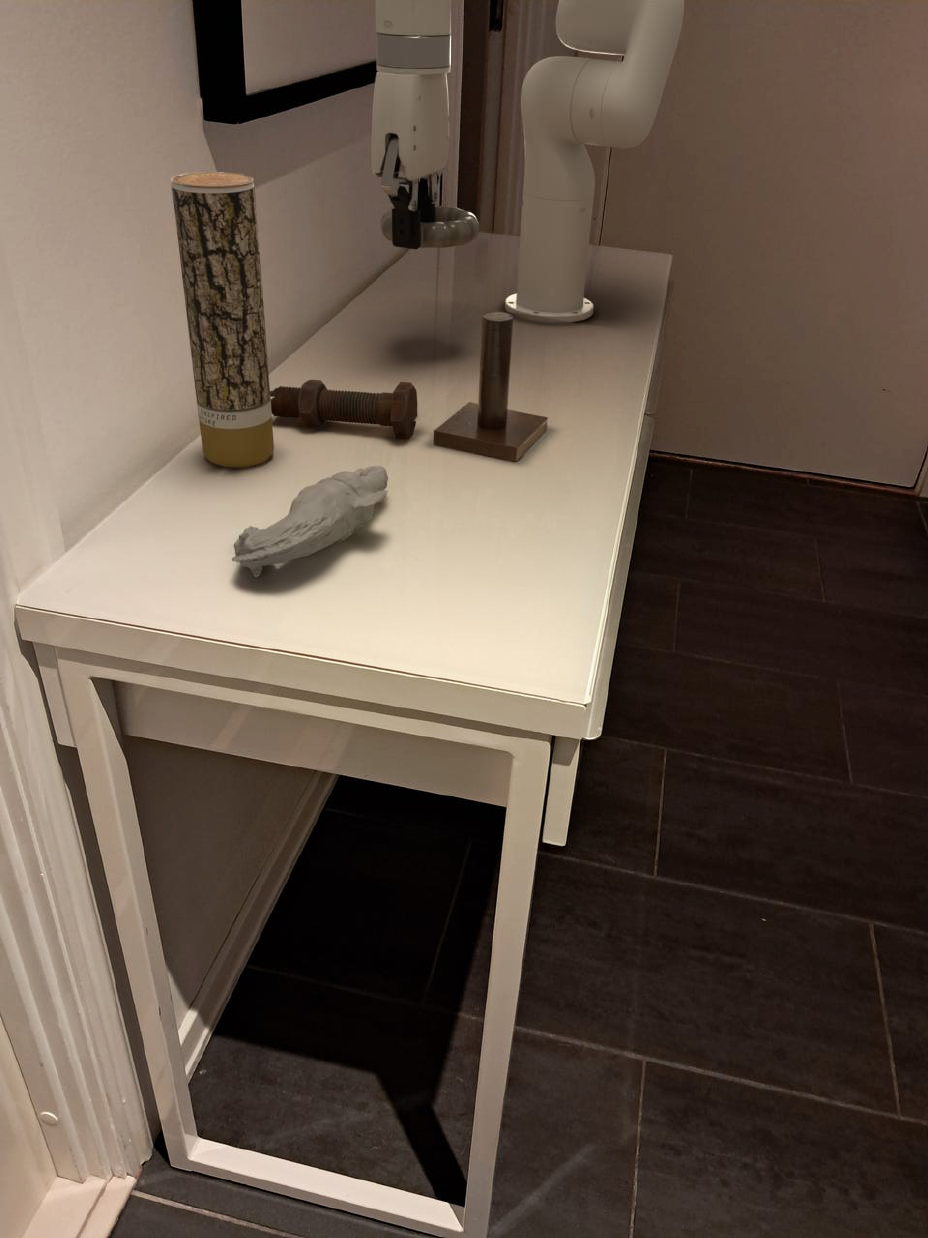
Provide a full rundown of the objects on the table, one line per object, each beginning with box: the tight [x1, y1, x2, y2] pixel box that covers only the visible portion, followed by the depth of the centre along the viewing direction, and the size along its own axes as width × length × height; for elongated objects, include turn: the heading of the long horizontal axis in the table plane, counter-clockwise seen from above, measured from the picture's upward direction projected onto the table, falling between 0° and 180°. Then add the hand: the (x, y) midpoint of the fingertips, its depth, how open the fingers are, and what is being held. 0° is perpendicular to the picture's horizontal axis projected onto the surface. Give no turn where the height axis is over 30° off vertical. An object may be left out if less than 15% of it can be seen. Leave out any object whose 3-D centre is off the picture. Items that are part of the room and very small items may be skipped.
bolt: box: [270, 379, 418, 441], centre depth 102 cm, size 6×5×15 cm
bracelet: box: [379, 204, 481, 249], centre depth 113 cm, size 11×11×3 cm
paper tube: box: [170, 171, 275, 468], centre depth 90 cm, size 7×7×25 cm
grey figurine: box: [231, 465, 389, 578], centre depth 83 cm, size 5×12×20 cm
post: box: [433, 311, 549, 463], centre depth 99 cm, size 9×9×12 cm
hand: (414, 241), depth 110 cm, fingers closed on bracelet, 3 cm apart
